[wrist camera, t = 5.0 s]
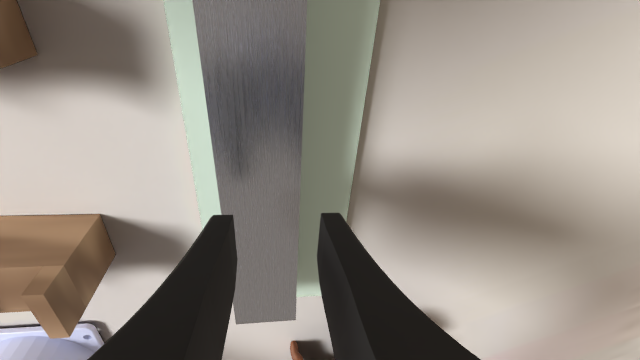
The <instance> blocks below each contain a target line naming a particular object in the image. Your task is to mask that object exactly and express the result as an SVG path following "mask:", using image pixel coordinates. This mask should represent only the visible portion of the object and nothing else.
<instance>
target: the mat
mask: <svg viewBox="0 0 640 360" xmlns="http://www.w3.org/2000/svg"><path fill="white" fill-rule="evenodd" d="M163 2H164V8H165V13H166V19H167V25H168V31H169V37H170V43H171V49H172V54H173V60H174V66H175V72H176V78H177V84H178V90H179V96H180V101H181V107H182V113H183V119H184V125H185V131H186V137H187V142H188V148H189V154H190V160H191V166H192V172H193V178H194V184H195V189H196V195H197V201H198V207H199V213H200V219H201V225H202V230H203V229H204V227H205V225H206V224H207V222H208V221H209V219H210V218H211V217H212V216H213V215H221V209H220V201H219V194H218V187H217V179H216V172H215V164H214V157H213V150H212V142H211V135H210V127H209V120H208V113H207V105H206V98H205V90H204V83H203V76H202V68H201V61H200V53H199V46H198V39H197V31H196V24H195V16H194V9H193V2H192V0H163ZM379 6H380V0H307V23H306V50H305V77H304V104H303V131H302V158H301V185H300V211H299V238H298V265H297V292H296V297H306V296H322V295H321V290H320V285H319V275H318V265H317V249H318V239H319V228H320V218H321V213H340V214H341V215H342V216H343V218H344V220H345V221H346V220H347V213H348V207H349V201H350V194H351V188H352V181H353V175H354V168H355V162H356V155H357V149H358V142H359V136H360V129H361V123H362V116H363V110H364V103H365V97H366V90H367V84H368V77H369V71H370V64H371V58H372V51H373V45H374V38H375V32H376V26H377V19H378V13H379Z"/></svg>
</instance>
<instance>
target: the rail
mask: <svg viewBox="0 0 640 360" xmlns="http://www.w3.org/2000/svg"><path fill="white" fill-rule="evenodd" d="M192 2H193V9H194V16H195V24H196V31H197V39H198V46H199V53H200V61H201V68H202V76H203V83H204V90H205V98H206V105H207V113H208V120H209V127H210V135H211V142H212V150H213V157H214V164H215V172H216V179H217V187H218V194H219V201H220V209H221V215H233V218H234V229H235V239H236V249H237V259H238V260H237V273H236V285H235V292H234V298H233V305H234V312H235V320H236V324H246V323H260V322H274V321H288V320H295V319H296V292H297V265H298V238H299V211H300V185H301V158H302V131H303V104H304V77H305V50H306V23H307V0H192Z"/></svg>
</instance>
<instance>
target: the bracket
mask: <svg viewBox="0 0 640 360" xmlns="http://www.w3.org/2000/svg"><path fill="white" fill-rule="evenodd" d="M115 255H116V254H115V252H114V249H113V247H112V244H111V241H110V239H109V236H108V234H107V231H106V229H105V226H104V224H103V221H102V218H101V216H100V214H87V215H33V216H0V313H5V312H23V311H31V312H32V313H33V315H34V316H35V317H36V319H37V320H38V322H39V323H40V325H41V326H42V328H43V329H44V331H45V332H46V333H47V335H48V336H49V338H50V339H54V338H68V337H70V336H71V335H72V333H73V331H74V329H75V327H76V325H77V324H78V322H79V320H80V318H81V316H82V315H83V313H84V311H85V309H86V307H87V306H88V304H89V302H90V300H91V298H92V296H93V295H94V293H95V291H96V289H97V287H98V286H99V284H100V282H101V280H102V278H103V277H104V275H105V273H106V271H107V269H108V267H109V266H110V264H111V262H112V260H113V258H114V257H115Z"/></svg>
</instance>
